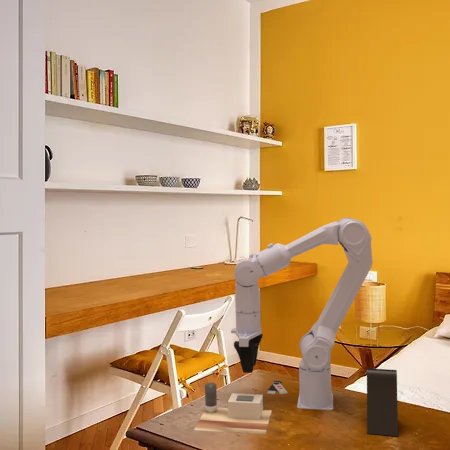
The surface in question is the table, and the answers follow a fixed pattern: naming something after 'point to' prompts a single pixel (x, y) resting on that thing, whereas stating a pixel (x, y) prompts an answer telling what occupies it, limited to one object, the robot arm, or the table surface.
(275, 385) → the usb flash drive
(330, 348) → the robot arm
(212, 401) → the grey capped cylinder
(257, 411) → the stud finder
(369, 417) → the phone stand
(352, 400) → the table surface
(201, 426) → the panel
